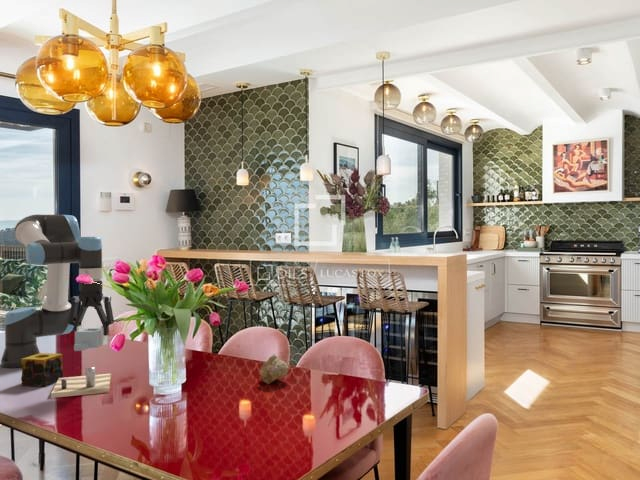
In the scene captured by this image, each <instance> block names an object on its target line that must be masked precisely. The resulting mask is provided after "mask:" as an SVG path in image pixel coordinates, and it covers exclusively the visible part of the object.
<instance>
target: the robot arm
mask: <svg viewBox="0 0 640 480" xmlns="http://www.w3.org/2000/svg"><path fill="white" fill-rule="evenodd" d="M13 233H14V237H15V238H16V240H17V241H18V242H19V243H20V244H22V245H24V246H25V260H26V264H29V265H37V266H39V265H47V273H46V296H45V302H44V303H42V305H41V309H37V308H36V307H35V306H29V307H21V308H15V309H13V310H11V311H10V310H9V311H8V312H6V314H5V315H4V316H5V317H4V324H3V325H4V329H5V332H4V333H5V334H4V335H5V338H4V339H5V341H4V342H5V344H4V345H5V348H4V349H3V353H2V356H1V359H0V367H3V368H11V369H12V368H13V369H14V368H22V360H21V359H22V358H26V357H29V356H32V355H36V354H39V353H41V352H40V349H39V347H38V343H37V338H40V337H42V338H43V337H50V336H61V335H65V334H70V333H71V332H72V331H73V329H74V333H75V332H76V331H79V330H82V329H84V326H83V325H82V322H83V319H84V317H85V314H86V312H87V310H88V308H89V307H91V308H93V309H95V311H96V313H97V315H98V317H99V320H100V323H101V324H102V326H100V328H101V346H100V347H102V346H106V345H108V343H107V335H108V336H109V333H110V329H109V328H110V326H111V325H113V324H115V318H114V315H113V308H112V304H111V303H112V302H111V301H112V296H111V295H108V296H106V295H104V294H103V280H102V279H103V245H102V238H101V237H100V236H80V235H81V233H80V227H79V222H78V219H77V217H76V216H74V215H70V214H63V213H62V214H31V215H28V216H26V217H23V218H22V219H20V220H19V221H18V222H17V223H16V225H15V226H14V230H13ZM71 264H78V276H80V275H82V274H87V275H90V276H91V277H92V279H93V281H94V282H97V283H100V284H97V283H92V284H84V283H81V282H80V281H79V282H78V288H79V289H78V290H79V295H77V296H76V295H75V296H72V297H70V302H69V287H70V285H69V284H70V265H71ZM87 275H86V276H87ZM101 284H102V285H101ZM102 301H103V303H104V304H102V303H101V302H102ZM80 302H81V304H80V305H79V303H80ZM103 305H104V308H103ZM79 308H80V309H79ZM78 310H79V311H78Z"/></svg>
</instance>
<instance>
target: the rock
mask: <svg viewBox="0 0 640 480" xmlns="http://www.w3.org/2000/svg"><path fill="white" fill-rule="evenodd" d="M290 369H291V367H290V366H289V365H288V363H287V362H286V361H284V360H283V358H280V357H279V356H278V355H276V354H275V353H273V354H272V355H271V356H270V357H269V358H268V360H267V361H266V362H264V363H262V365H261V368H260V371H259V375H260V377H261V380H262V381H263V382H264V383H266V384H268V385H270V384H271V383H273V382H274V381H276V380H279V379H280V378H281V379H283V378H285V377H286V376H288V374H287V373H288V371H289V370H290Z"/></svg>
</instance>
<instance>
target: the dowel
mask: <svg viewBox="0 0 640 480" xmlns="http://www.w3.org/2000/svg"><path fill="white" fill-rule="evenodd" d="M61 386H62V389H66V388H67V380H66V379H63V380H61Z"/></svg>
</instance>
